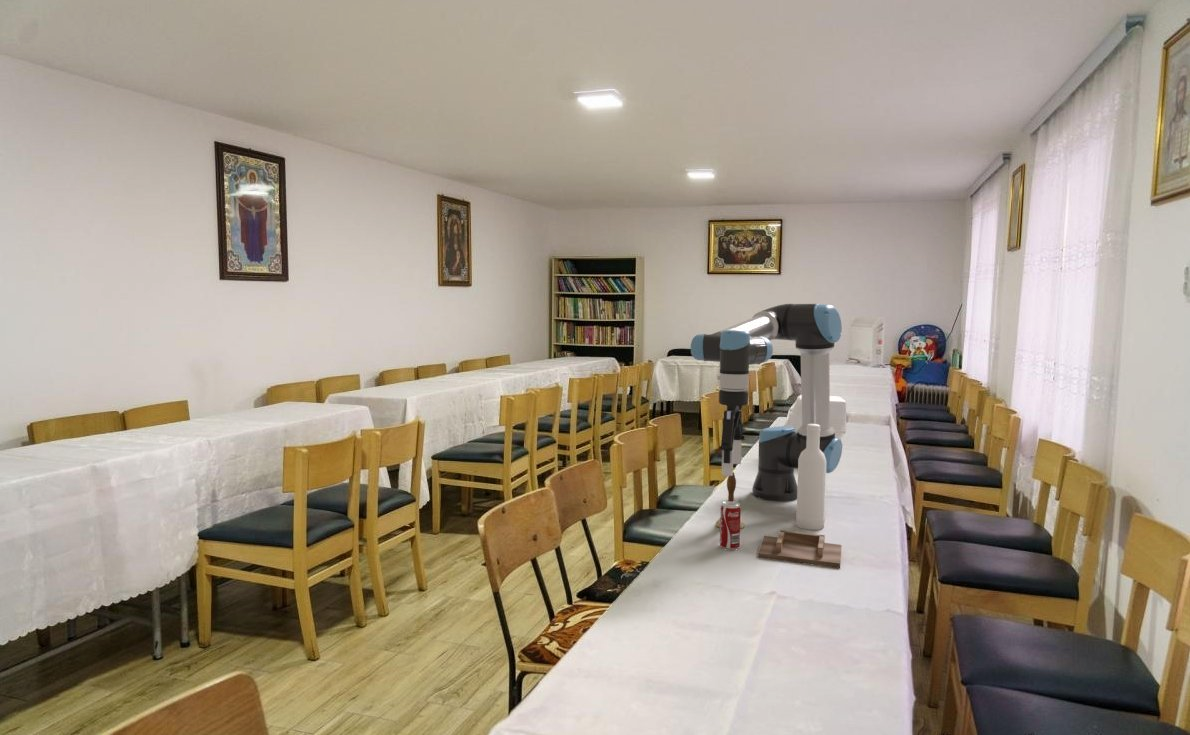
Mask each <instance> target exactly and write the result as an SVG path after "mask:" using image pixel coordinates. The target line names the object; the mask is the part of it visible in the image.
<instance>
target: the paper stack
mask: <svg viewBox="0 0 1190 735" xmlns="http://www.w3.org/2000/svg"><path fill="white" fill-rule="evenodd" d="M847 423H848V422H847V402H846V400H845V399H843V398H842V397H841V396H831V395H830V426H831V427H832V428H833V429H834V430H835V438H839V439H840V440H841V441H842V438H843V436H845V434H846V432H847ZM783 426H790V427H794V428H795V430H796V433H797V430H798V429H799V428H800V427H801V426H802V399H801V394H800V395H798V396H797V398H796V400H795V402H794V405H793V407H792V410H791V411H789V413H788V419H787V420H786V422H785V424H784V425H783Z"/></svg>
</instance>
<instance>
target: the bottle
mask: <svg viewBox="0 0 1190 735" xmlns="http://www.w3.org/2000/svg"><path fill="white" fill-rule="evenodd" d="M806 430H807V441H806V449H804V450H803V451H802V452H801V454H800V456H799V459H798V469H797V499H796V513H795V521H796V522H795V524H796V526H797V527H798V528H800V529H804V530H807V529H808V530H810V531H818V530H823V528H825V519H826V517H825V513H826V512H825V511H826V510H825V508H826V507H825V506H826V505H825V504H826V487H827V486H826V484H827V483H826V482H827V473H826V458H825V455H824V453H823V452H822V451H821V450H820V449H819V443H820V431H821V430H820V425H818V424H808V425H807V428H806Z"/></svg>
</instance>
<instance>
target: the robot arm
mask: <svg viewBox="0 0 1190 735" xmlns="http://www.w3.org/2000/svg"><path fill="white" fill-rule="evenodd" d="M842 329H843V328H842V320H841V315H840V313H839V311H838V310H837V309H836V307H835V306H833V305H831V304H823V303H784V304H778V305H775V306H772V307H770V308H769V307H768V308H766V309H763V310H760V311H758V312H756V313H755V314H754V315H753V316H752V318H750V319H747V320H744V321H742V322H740V323H737V324H734V325H731V326H729V327H727V328H726V327H725V329H722V330H719V331H717V332H713V333H711V334H707V333H702V334H701V333H700V334H696V335H695V336H694V337H693V338H692V339H691V343H690V354H691V356H692V358H693V359H695V360H697V361H703V362H712V363H713V362H714V363H715V362H716V363H717V362H718V363H719V375H717V376H716V378H717V380H719V385H718V387H719V389H720V390H718V404H719V405H722V406H726V410H724V412H723V421H722V422H723V424H722V434H721V441H720V443H721V444H720V446H718V450H719V451H721V475H722V476H732V475H733V472H734V471H733V469H734V468H733V467H734V465H741V464H742V462H741V461H742V440H745V435H744V433H743V415H742V414H743V413H742V412H743V411H742V409H743V406H747V405H748V404H749V391H748V389H749V386H750V384H749V383H750V373H749V372H750V365H751V366H752V365H761V364H762V363H765V362H766V363H767V361H769V360H770V359H771V358H772V356H773V352H774V349H773V344H772V342H771V340H772V341H773V340H783V341H793V342H795V349H796V350H797V351H798V352H799V354H800V380H801V381H800V384H801V385H800V386H801V387H800V388H801V390H800V393H801V394H800V395H801V399H802V426H801V427H800V428H799V429H798V430H797V433H796V430H795V428H794V427H790V426H784V425H783V426H771V427H765V428H763V429H761V430H760V432H759V438H758V442H757V443H758V461H757V462H758V468H757V470H758V471H757V474H756V477H755V479H754V481H753V484H752V488H751V489H752V490H751V491H752V492H751V493H752V496H753V497H756V498H758V499H761V500H766V501H770V502H771V501H772V502H773V501H774V502H791V501H794V500H797V486H798V482H797V480H796V478H795V472H794V471H795V469H797V470H798V459H799V456H800V454H801V452H802V451H803V450H804V449H806V441H807V430H806V428H807V425H808V424H818V425H820V430H821V431H820V443H819V449H820V450H821V451H822V452H823V453H824V455H825V458H826V474H831V473H832V472H834V471H835V470H836V469H837V467H838V466H839V463H840V460H841V458H842V452H843V442H842V439H841V440H840V439H839V438H835V430H834V429H833V428H832V427H831V426H830V396H831V394H830V391H831V390H830V389H831V387H830V386H831V385H830V352H831V351H832V350H834V348H835V343H837V342H839V341H840V339H841V336H842V334H841V333H842Z"/></svg>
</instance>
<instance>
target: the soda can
mask: <svg viewBox="0 0 1190 735" xmlns="http://www.w3.org/2000/svg"><path fill="white" fill-rule="evenodd" d="M741 512H742V511H741V507H740V503H739V502H737V501H734V502H733V501H728V500H726V501H723V502H722V504H721V506H720V517H721V518H720V517H719V519H720V528H719V529H720V530H719V545H720V548H721V549H723V550H725V549H726V551H737V550H739V549H740V545H741V544H740V543H741V529H740V520H741V516H742V515H741V514H742V513H741ZM736 549H737V550H736Z"/></svg>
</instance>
